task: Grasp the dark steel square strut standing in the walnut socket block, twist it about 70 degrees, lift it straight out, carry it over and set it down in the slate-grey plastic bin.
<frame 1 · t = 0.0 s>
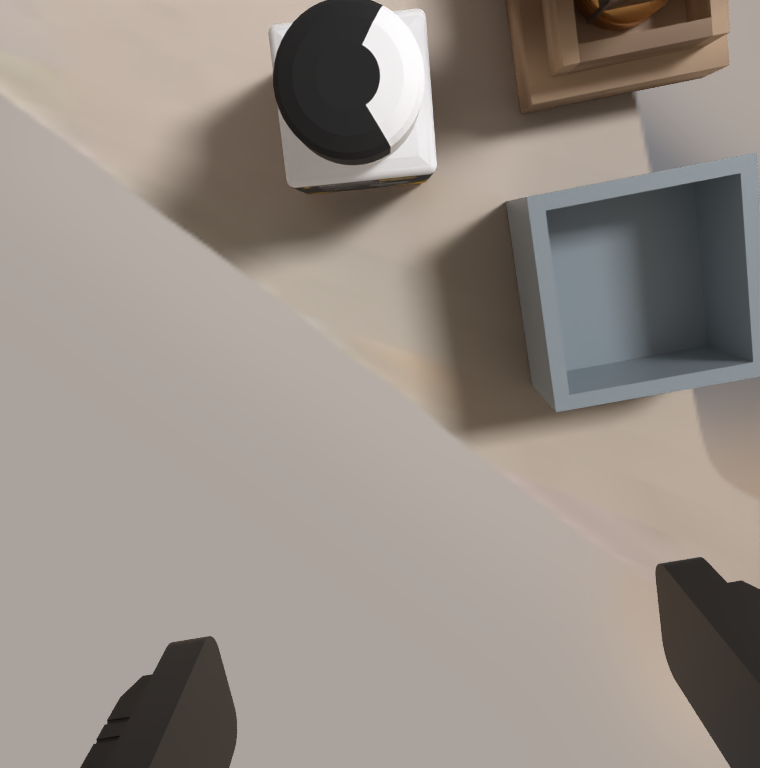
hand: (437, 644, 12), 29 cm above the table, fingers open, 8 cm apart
bin: (612, 279, 40), on the table
medicine bottle: (360, 123, 38), on the table
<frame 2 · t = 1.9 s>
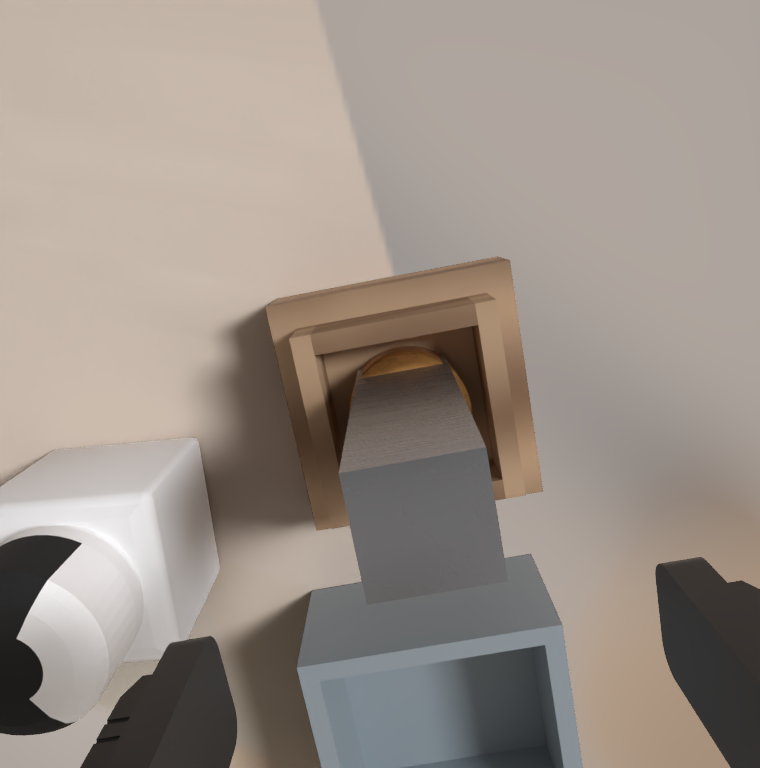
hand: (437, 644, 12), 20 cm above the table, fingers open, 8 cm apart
bin: (439, 668, 35), on the table
socket block: (406, 385, 31), on the table
medicine bottle: (140, 509, 33), on the table
strut: (408, 402, 28), point 3 cm above the table, touching socket block
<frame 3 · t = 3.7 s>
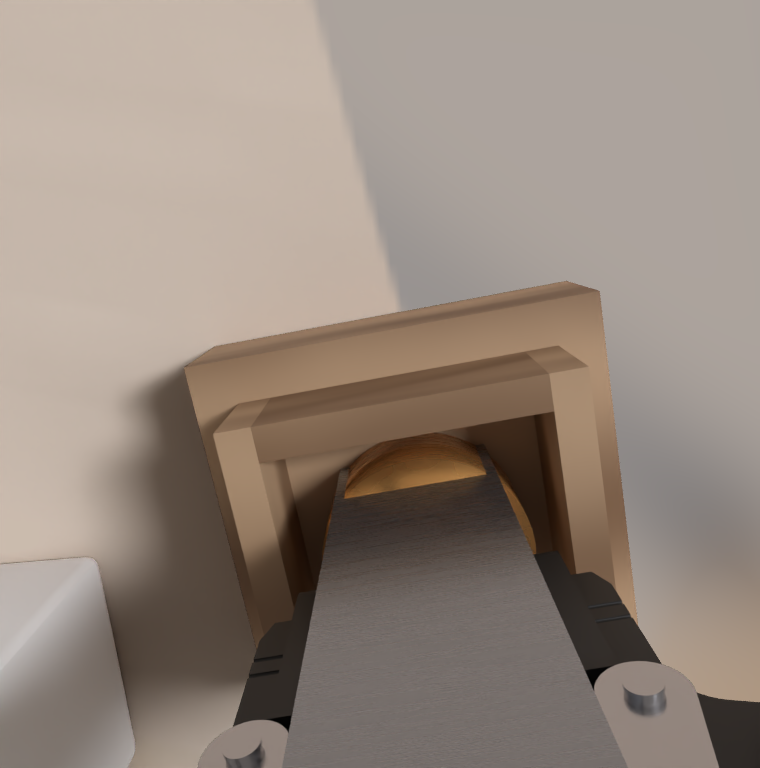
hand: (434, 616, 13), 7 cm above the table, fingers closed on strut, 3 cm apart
socket block: (418, 479, 20), on the table
medicine bottle: (15, 658, 22), on the table
strut: (424, 522, 17), point 3 cm above the table, touching gripper, socket block
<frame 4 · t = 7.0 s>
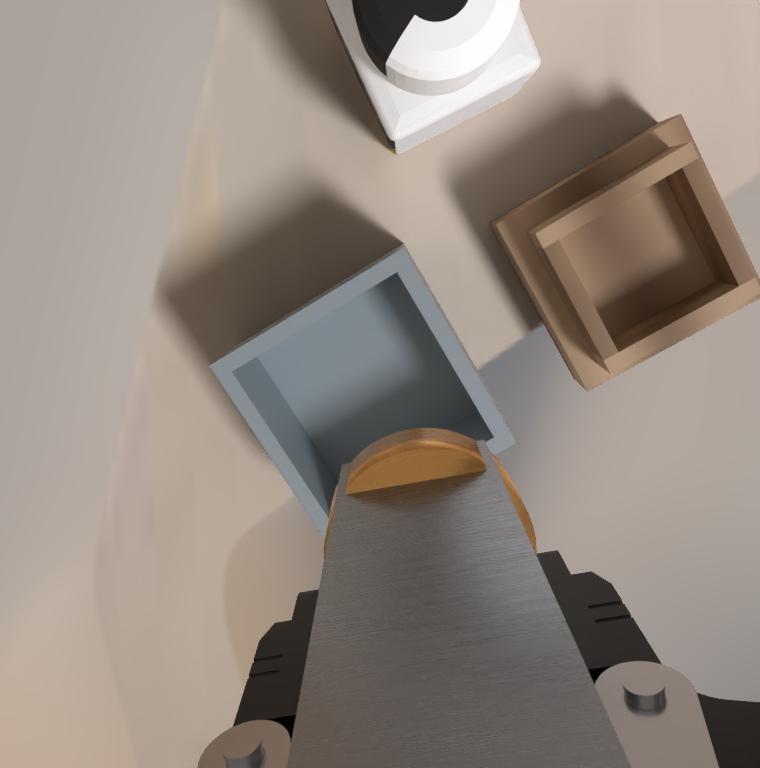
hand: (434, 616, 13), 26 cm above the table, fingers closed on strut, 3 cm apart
bin: (369, 376, 39), on the table
socket block: (614, 256, 37), on the table
medicine bottle: (426, 61, 35), on the table
strut: (425, 517, 17), point 22 cm above the table, touching gripper
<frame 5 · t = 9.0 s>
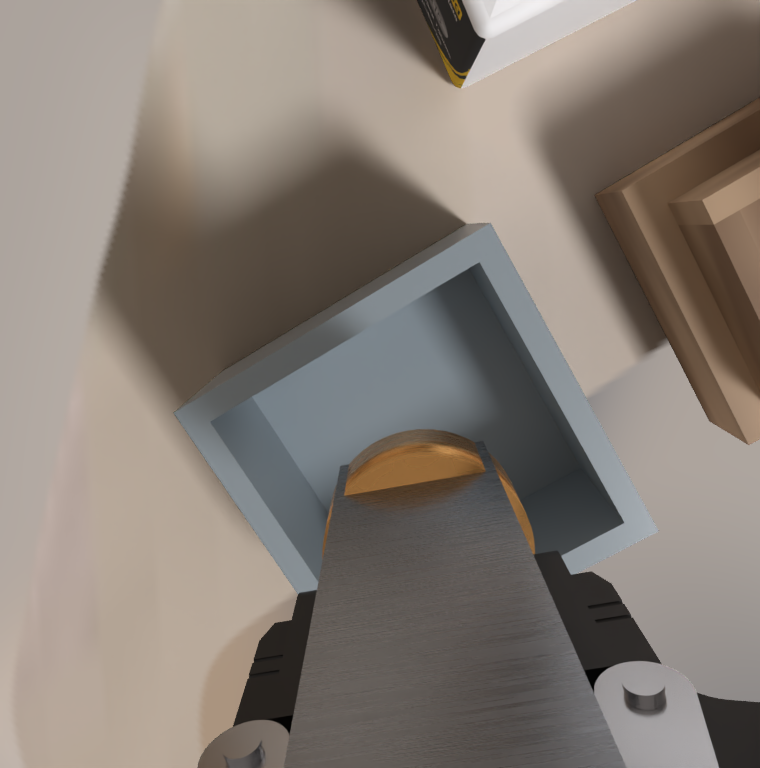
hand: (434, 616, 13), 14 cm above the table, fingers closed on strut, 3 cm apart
bin: (413, 419, 27), on the table
strut: (423, 519, 17), point 10 cm above the table, touching gripper
when the fingers open (7 cm above the table, at t = 10.5 s): strut drops 2 cm, resting on bin.
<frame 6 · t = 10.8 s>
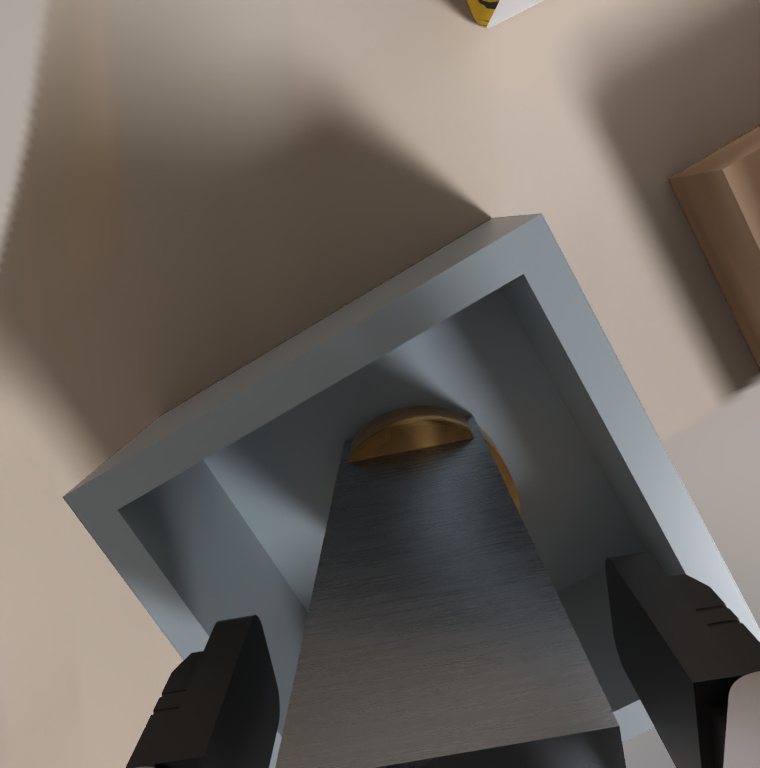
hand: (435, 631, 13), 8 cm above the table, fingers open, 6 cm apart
bin: (417, 480, 20), on the table
strut: (421, 488, 19), point 1 cm above the table, touching bin
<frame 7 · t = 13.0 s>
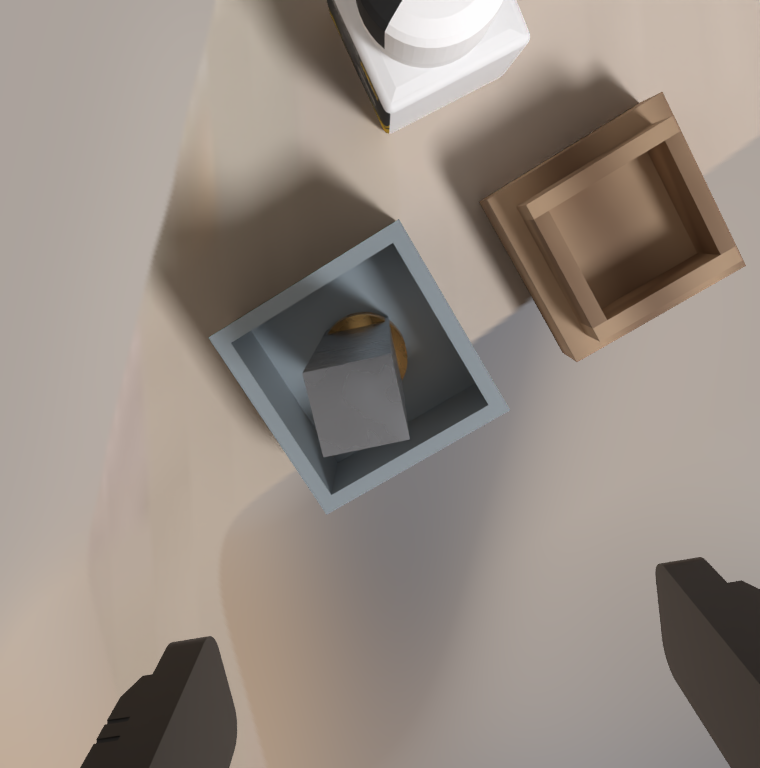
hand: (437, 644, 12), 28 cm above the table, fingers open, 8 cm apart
bin: (364, 353, 40), on the table
socket block: (599, 232, 38), on the table
medicine bottle: (417, 43, 36), on the table
strut: (364, 353, 39), point 1 cm above the table, touching bin
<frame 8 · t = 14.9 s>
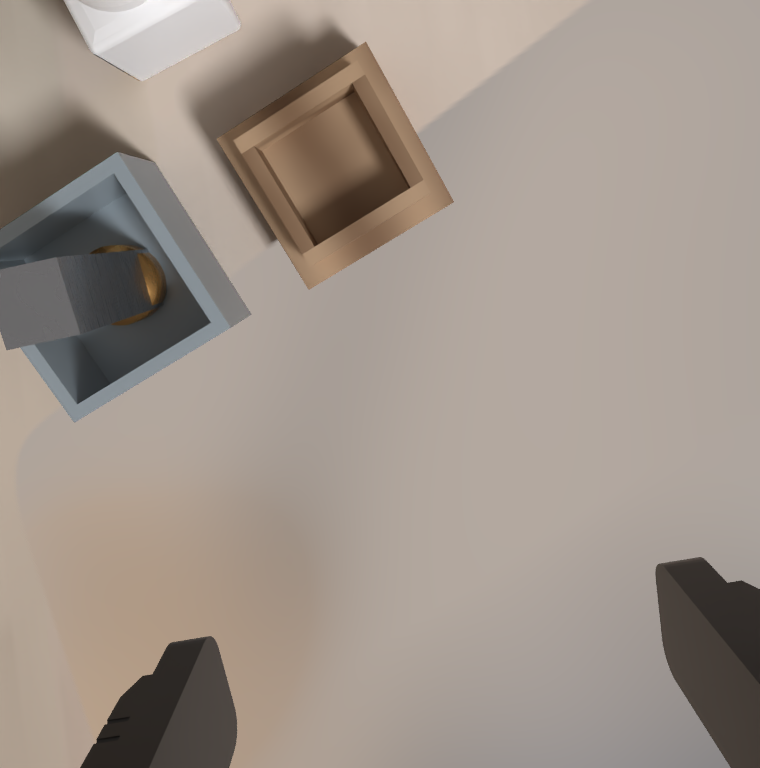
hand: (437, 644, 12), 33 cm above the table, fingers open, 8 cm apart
bin: (133, 284, 44), on the table
socket block: (339, 174, 42), on the table
strut: (128, 283, 43), point 1 cm above the table, touching bin
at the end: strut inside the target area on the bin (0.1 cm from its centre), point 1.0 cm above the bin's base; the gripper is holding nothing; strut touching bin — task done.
